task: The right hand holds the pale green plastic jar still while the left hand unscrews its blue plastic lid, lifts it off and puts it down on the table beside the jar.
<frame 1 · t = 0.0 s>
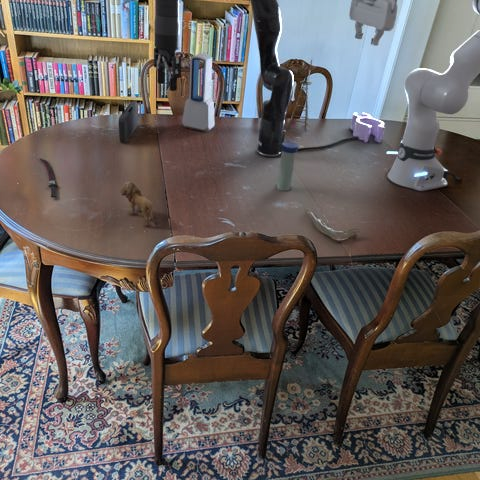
left hand: (166, 86, 148), 29 cm above the table, tool pointing down, fingers open, 8 cm apart
right hand: (366, 41, 141), 48 cm above the table, tool pointing down, fingers open, 8 cm apart
miniature windmill: (297, 127, 216), on the table
sword: (47, 177, 151), on the table
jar: (283, 187, 161), on the table
lid: (289, 145, 153), point 15 cm above the table, screwed on, not yet turned
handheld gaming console: (129, 133, 190), on the table
electronic device: (198, 128, 203), on the table
clip: (364, 134, 216), on the table
jawbone: (331, 225, 142), on the table
lion figurine: (139, 216, 136), on the table
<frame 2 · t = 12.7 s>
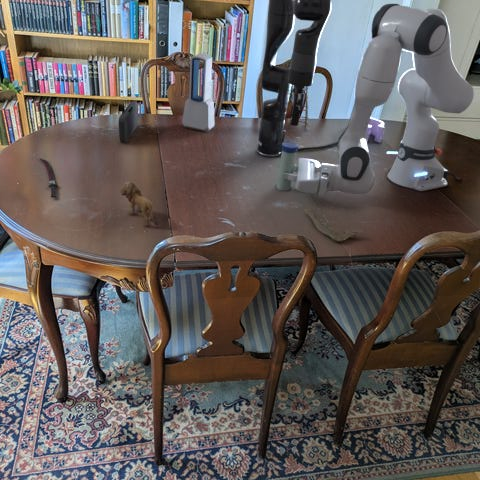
left hand: (293, 120, 148), 24 cm above the table, tool pointing down, fingers open, 7 cm apart
right hand: (283, 171, 158), 6 cm above the table, tool horizontal, fingers closed on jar, 5 cm apart
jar: (283, 187, 161), on the table, touching right hand
everything else where it was.
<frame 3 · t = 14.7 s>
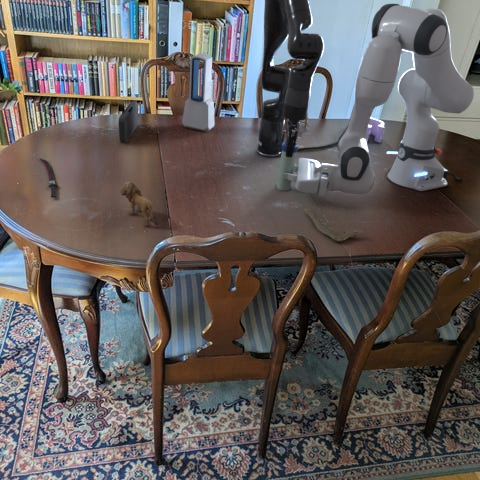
left hand: (288, 153, 154), 13 cm above the table, tool pointing down, fingers closed on lid, 5 cm apart
right hand: (283, 171, 158), 6 cm above the table, tool horizontal, fingers closed on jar, 5 cm apart
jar: (283, 187, 161), on the table, touching right hand
lid: (290, 145, 153), point 15 cm above the table, screwed on, not yet turned, touching left hand
everything else where it was.
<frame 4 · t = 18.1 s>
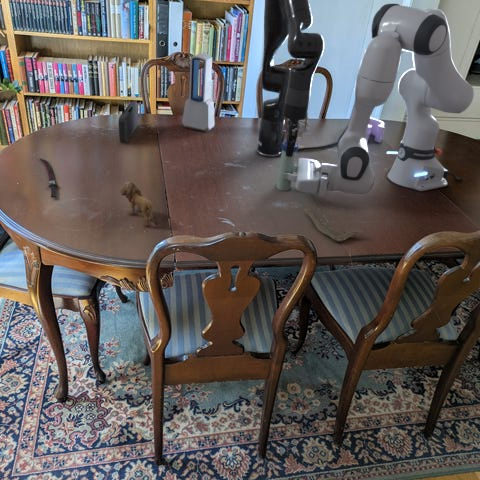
left hand: (288, 152, 154), 13 cm above the table, tool pointing down, fingers closed on lid, 5 cm apart
right hand: (283, 171, 158), 6 cm above the table, tool horizontal, fingers closed on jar, 5 cm apart
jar: (283, 187, 161), on the table, touching right hand
lid: (290, 145, 153), point 15 cm above the table, turned 68° so far, risen 0.2 cm, still on its thread, touching left hand
everything else where it was.
when the left hand's fingers open (0 cm above the table, at t = 25.0 s): lid drops 2 cm, point 1 cm above the table.
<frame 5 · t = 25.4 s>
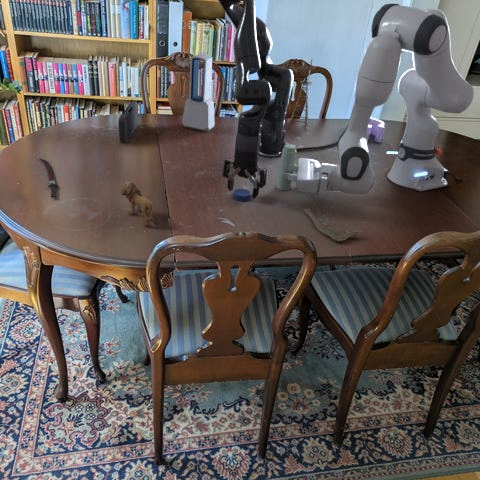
left hand: (242, 193, 152), 1 cm above the table, tool pointing down, fingers open, 8 cm apart
right hand: (283, 170, 158), 6 cm above the table, tool horizontal, fingers closed on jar, 5 cm apart
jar: (283, 187, 161), on the table, touching right hand
lid: (242, 193, 152), point 1 cm above the table, off its thread
everything else where it was.
when the right hand's fingers open (6 cm above the table, at t = 26.0 s): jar stays where it is, on the table.
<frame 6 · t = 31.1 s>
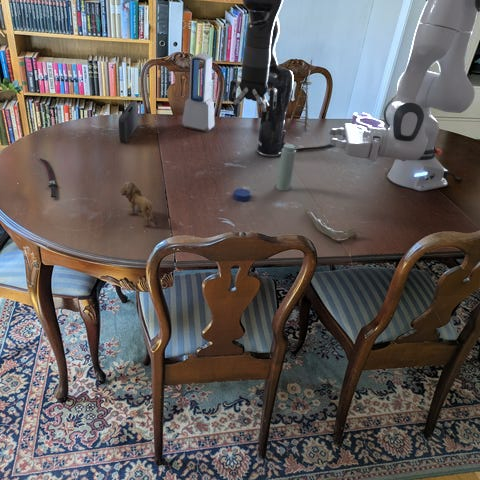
left hand: (250, 119, 138), 26 cm above the table, tool pointing down, fingers open, 8 cm apart
right hand: (330, 136, 150), 20 cm above the table, tool horizontal, fingers open, 8 cm apart
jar: (283, 187, 161), on the table
everything else where it was.
at the end: lid came off its thread; lid point 1.4 cm above the table; the left hand is holding nothing; the right hand is holding nothing; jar tilted 0°; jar moved 0.1 cm from its start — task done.
